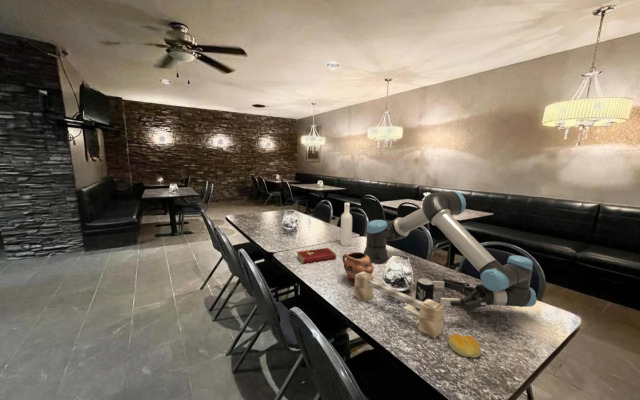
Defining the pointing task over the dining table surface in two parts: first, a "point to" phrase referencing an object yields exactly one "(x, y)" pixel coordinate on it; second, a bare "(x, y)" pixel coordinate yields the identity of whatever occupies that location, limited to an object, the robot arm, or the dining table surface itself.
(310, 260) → the hardcover book
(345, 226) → the bottle
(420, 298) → the beverage can
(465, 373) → the dining table surface
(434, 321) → the handrail
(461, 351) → the bread roll
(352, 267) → the brown sculpted mug
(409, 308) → the pad
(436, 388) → the dining table surface
